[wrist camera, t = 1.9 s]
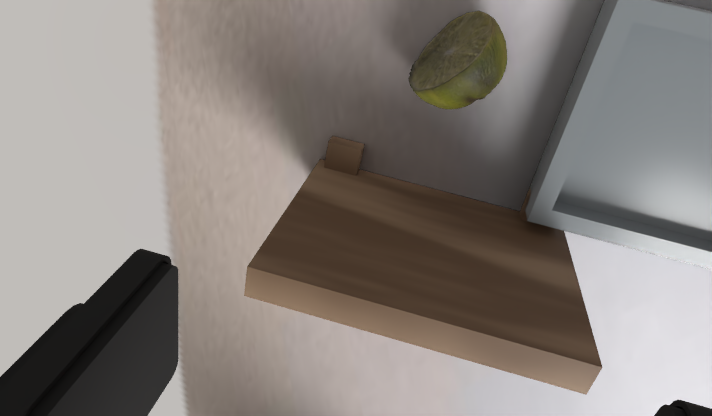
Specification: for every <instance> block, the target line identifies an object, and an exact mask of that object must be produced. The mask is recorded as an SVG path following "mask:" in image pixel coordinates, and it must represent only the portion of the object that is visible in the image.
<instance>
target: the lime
mask: <svg viewBox="0 0 712 416" xmlns="http://www.w3.org/2000/svg"><path fill="white" fill-rule="evenodd" d="M506 64H507V49H506V41H505V39H504V36H503V33H502V31H501V29H500V27H499V25H498V24H497V22H496V21H495V19H494V18H492V17H491V16H490V15H488V14H486V13H483V12H481V11H475V12H471V13H466V14H465V15H463V16H460V17H458V18H456V19H455V20H453V21H451V22H450V23H449V24H448V25H447V26H446V27H445V28H444V29H443V30H442V31H441V32H440V33H438V35H437V36H436V37H435V38H434V39H433V40H432V41H431V42H429V44H428V45H427V46H426V47H425V49H424V50H423V52H422V53H421V55H420V56H419V59H418V60H417V61H415V63H414V64H413V66H412V69H411V72H410V76H409V83H410V86H411V88H412V89H413V91H414V92H415V93H416V94H417V95H418V96H419V97H420V98H421V99H422V100H424V101H425V102H427V103H429V104H431V105H434V106H436V107H438V108H442V109H458V108H462V107H465V106H468V105H470V104H471V103H473V102H474V101H476V100H478V99H483V98H485V96H486V95H487V94H489V93H490V92H491V91H492V90H493V89H494V88H495V87H496V85H497V84H499V82H500V80H501V79H502V77H503V73H504V72H505V69H506Z"/></svg>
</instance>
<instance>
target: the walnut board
mask: <svg viewBox="0 0 712 416" xmlns="http://www.w3.org/2000/svg"><path fill="white" fill-rule="evenodd" d="M363 149H364V144H362V143H358V142H354V141H351V140H347V139H343V138H339V137H335V136H332V137H331V139H330V140H329V142H328V147H327V153H326V158H325V160H322V159H320V160H319V162H318V163H317V165H316V166H315V167H314V169H313V170H312V172H311V173H310V175H309V176H308V178H307V179H306V181H305V182H304V184H303V185H302V187H301V188H300V190H299V191H298V193H297V194H296V196H295V197H294V199H293V200H292V201H291V203H290V204H289V206H288V207H287V209H286V210H285V212H284V213H283V215H282V216H281V218H280V219H279V221H278V222H277V224H276V225H275V227H274V228H273V230H272V231H271V232H270V234H269V235H268V237H267V238H266V240H265V241H264V243H263V244H262V246H261V247H260V249H259V250H258V252H257V253H256V255H255V256H254V258H253V259H252V261H251V262H250V263H249V265H248V266H247V274H246V284H245V293H244V296H247V297H250V298H254V299H257V300H261V301H264V302H268V303H271V304H275V305H278V306H281V307H285V308H288V309H292V310H295V311H299V312H302V313H306V314H309V315H313V316H316V317H320V318H323V319H326V320H330V321H333V322H337V323H340V324H344V325H347V326H351V327H354V328H358V329H361V330H365V331H368V332H371V333H375V334H378V335H382V336H385V337H389V338H392V339H396V340H399V341H403V342H406V343H410V344H413V345H416V346H420V347H423V348H427V349H430V350H434V351H437V352H441V353H444V354H448V355H451V356H455V357H458V358H461V359H465V360H468V361H472V362H475V363H479V364H482V365H486V366H489V367H493V368H496V369H500V370H503V371H506V372H510V373H513V374H517V375H520V376H524V377H527V378H531V379H534V380H538V381H541V382H545V383H548V384H551V385H555V386H558V387H562V388H565V389H569V390H572V391H576V392H579V393H583V394H587V392H588V391H589V389H590V387H591V386H592V384H593V382H594V381H595V379H596V377H597V375H598V374H599V372H600V370H601V369H602V365H601V361H600V358H599V354H598V351H597V347H596V343H595V340H594V336H593V333H592V329H591V326H590V322H589V319H588V315H587V311H586V308H585V304H584V301H583V297H582V294H581V290H580V286H579V283H578V279H577V276H576V272H575V269H574V265H573V262H572V258H571V254H570V251H569V247H568V244H567V240H566V237H565V233H564V231H563V230H559V229H556V228H552V227H548V226H544V225H540V224H537V223H533V222H529V221H527V217H526V211H525V209H526V206H527V204H528V201H529V199H530V196H531V190H530V188H529V190H528V193H527V195H526V198H525V200H524V203H523V205H522V208H521V210H520V211H516V210H512V209H508V208H505V207H501V206H497V205H493V204H489V203H486V202H482V201H478V200H474V199H470V198H467V197H463V196H459V195H455V194H451V193H448V192H444V191H440V190H436V189H432V188H428V187H425V186H421V185H417V184H413V183H409V182H406V181H402V180H398V179H394V178H390V177H387V176H383V175H379V174H375V173H371V172H368V171H364V170H360V169H359V168H360V163H361V158H362V154H363Z"/></svg>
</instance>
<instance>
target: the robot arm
mask: <svg viewBox="0 0 712 416" xmlns="http://www.w3.org/2000/svg"><path fill="white" fill-rule="evenodd" d="M177 364H178V268H177V267H176V266H173V265H171V259H170V257H168V256H165V255H162V254H158V253H154V252H151V251H147V250H144V249H139V250H137V251H136V252H134V253H133V254H132V255H131V256H130V258H129V259H127V261H126V262H125V263H124V264H123V265H122V266H121V267H120V268H119V269H118V270H117V271H116V272H115V273H114V274H113V275H112V276H111V277H110V278H109V279H108V280H107V281H106V282H105V283H104V284H103V285H102V286H101V287H100V288H99V289H98V290H97V291H96V292H95V293H94V294H93V295H92V296H91V297H90V298H89V299H88V300H87V301H86V302H85V303H84V304H81V303H79V304H77V305H74V306H73V307H71V308H70V309H69V310H68V311H66V312H65V313H64V314H63V315H62V316H61V317H60V318H59V319H58V320H57V321H56V322H55V323H54V324H53V325H52V326H51V327H50V328H49V329H48V330H47V331H46V332H45V333H44V334H43V335H42V336H41V337H40V338H39V339H38V340H37V341H36V342H35V343H34V344H33V345H32V346H31V347H30V348H29V349H28V350H27V351H26V352H25V353H24V354H23V355H22V356H21V357H20V358H19V359H18V360H17V361H16V362H15V363H14V364H13V365H12V366H11V367H10V368H9V369H8V370H7V371H6V372H5V373H4V374H3V375H2V376H1V377H0V416H147V415H148V414H149V412H150V411H151V409H152V408H153V406H154V405H155V403H156V401H157V400H158V398H159V397H160V395H161V394H162V392H163V391H164V389H165V387H166V386H167V384H168V383H169V381H170V380H171V378H172V376H173V375H174V372H175V370H176V367H177ZM654 416H712V409H710V408H707V407H703V406H700V405H696V404H692V403H689V402H685V401H681V400H676V401H674V402H673V403H672V404H671V405H670V406H669V405H663V406H662V407H661V408H660V409H659V410H658V411H657V413H656V414H655V415H654Z"/></svg>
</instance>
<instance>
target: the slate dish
mask: <svg viewBox="0 0 712 416" xmlns="http://www.w3.org/2000/svg"><path fill="white" fill-rule="evenodd" d="M530 190H531V196H530V199H529V201H528V204H527V206H526V209H525V211H526V217H527V221H529V222H533V223H537V224H540V225H544V226H548V227H552V228H556V229H559V230H563V231H567V232H571V233H575V234H578V235H582V236H586V237H590V238H593V239H597V240H601V241H605V242H609V243H612V244H616V245H620V246H624V247H628V248H631V249H635V250H639V251H643V252H646V253H650V254H654V255H658V256H662V257H665V258H669V259H673V260H677V261H681V262H684V263H688V264H692V265H696V266H699V267H703V268H707V269H711V270H712V11H709V10H705V9H701V8H696V7H692V6H687V5H683V4H678V3H674V2H669V1H665V0H604V2H603V5H602V7H601V10H600V12H599V15H598V17H597V20H596V22H595V25H594V27H593V30H592V32H591V35H590V37H589V40H588V42H587V45H586V47H585V50H584V52H583V55H582V58H581V60H580V63H579V65H578V68H577V70H576V73H575V75H574V78H573V80H572V83H571V85H570V88H569V90H568V93H567V95H566V98H565V100H564V103H563V105H562V108H561V110H560V113H559V115H558V118H557V120H556V123H555V125H554V128H553V130H552V133H551V135H550V138H549V140H548V143H547V145H546V148H545V150H544V153H543V155H542V158H541V160H540V163H539V165H538V168H537V170H536V173H535V175H534V178H533V180H532V183H531V185H530Z"/></svg>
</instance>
